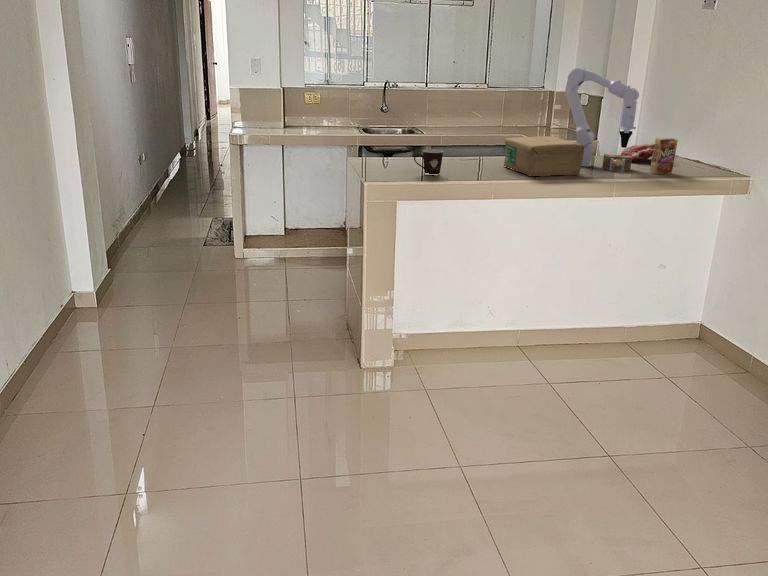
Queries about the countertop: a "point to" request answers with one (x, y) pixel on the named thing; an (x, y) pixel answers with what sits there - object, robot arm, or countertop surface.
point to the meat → (639, 151)
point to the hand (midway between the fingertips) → (623, 147)
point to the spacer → (616, 170)
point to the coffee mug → (431, 161)
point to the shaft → (617, 164)
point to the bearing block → (608, 157)
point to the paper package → (543, 156)
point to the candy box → (663, 156)
